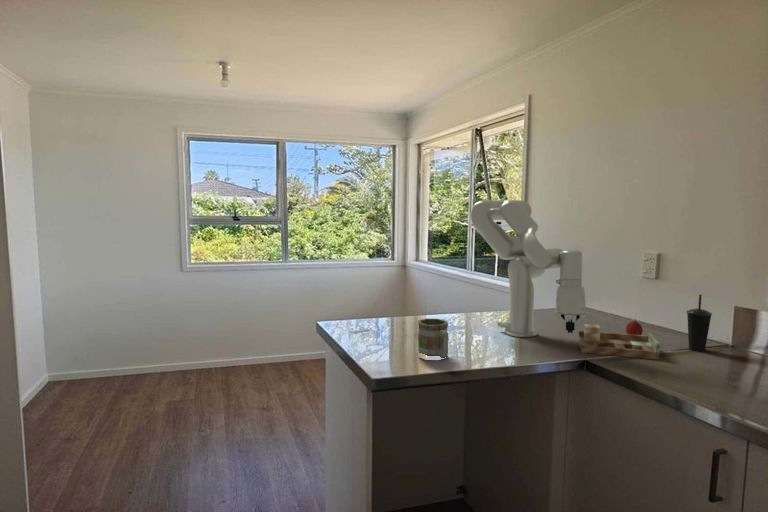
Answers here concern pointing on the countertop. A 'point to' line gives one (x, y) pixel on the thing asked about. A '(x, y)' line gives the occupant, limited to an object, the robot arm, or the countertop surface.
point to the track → (622, 345)
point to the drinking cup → (698, 327)
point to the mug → (433, 337)
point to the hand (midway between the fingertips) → (570, 332)
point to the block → (591, 332)
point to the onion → (634, 328)
